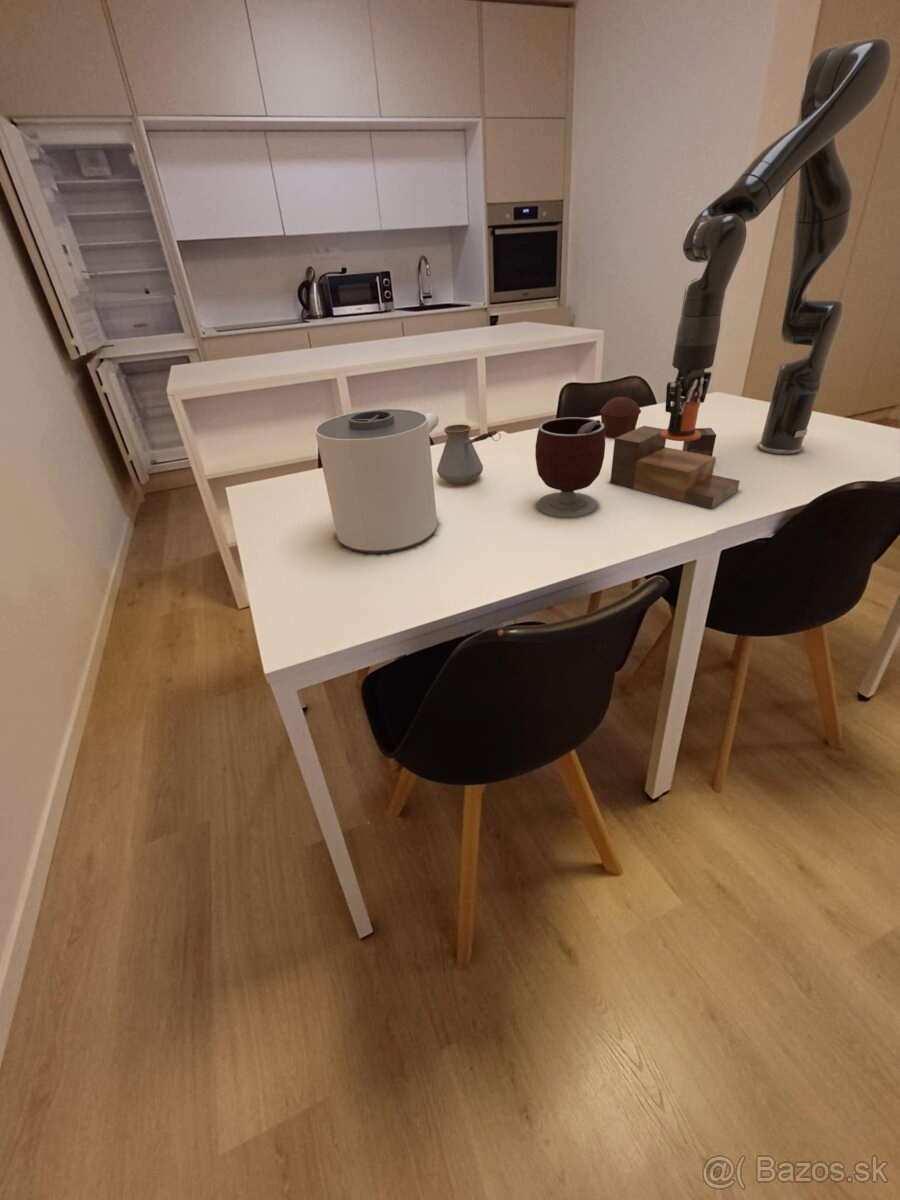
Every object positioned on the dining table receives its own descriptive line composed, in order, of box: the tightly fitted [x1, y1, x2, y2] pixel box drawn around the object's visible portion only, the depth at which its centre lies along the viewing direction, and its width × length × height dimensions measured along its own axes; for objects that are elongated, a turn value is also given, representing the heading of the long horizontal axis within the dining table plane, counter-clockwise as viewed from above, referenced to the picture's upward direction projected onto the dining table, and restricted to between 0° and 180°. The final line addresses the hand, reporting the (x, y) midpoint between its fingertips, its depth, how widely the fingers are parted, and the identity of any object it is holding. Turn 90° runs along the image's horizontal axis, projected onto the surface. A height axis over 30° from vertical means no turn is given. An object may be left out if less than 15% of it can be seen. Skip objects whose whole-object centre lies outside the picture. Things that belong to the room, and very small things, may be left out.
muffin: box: [599, 396, 642, 439], centre depth 152 cm, size 12×11×10 cm
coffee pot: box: [436, 423, 502, 486], centre depth 124 cm, size 21×12×15 cm, turn 33°
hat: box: [661, 401, 701, 442], centre depth 111 cm, size 8×8×7 cm
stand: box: [609, 425, 741, 510], centre depth 116 cm, size 12×24×10 cm, turn 42°
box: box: [681, 427, 717, 456], centre depth 129 cm, size 6×6×7 cm
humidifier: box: [314, 408, 440, 554], centre depth 104 cm, size 22×21×23 cm
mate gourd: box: [534, 416, 606, 518], centre depth 108 cm, size 16×14×20 cm
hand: (681, 428), depth 112 cm, fingers closed on hat, 5 cm apart
